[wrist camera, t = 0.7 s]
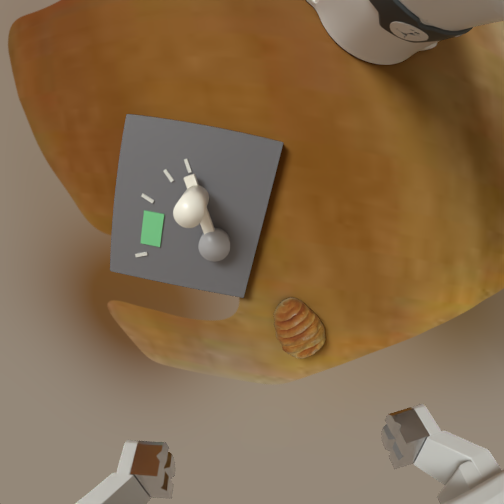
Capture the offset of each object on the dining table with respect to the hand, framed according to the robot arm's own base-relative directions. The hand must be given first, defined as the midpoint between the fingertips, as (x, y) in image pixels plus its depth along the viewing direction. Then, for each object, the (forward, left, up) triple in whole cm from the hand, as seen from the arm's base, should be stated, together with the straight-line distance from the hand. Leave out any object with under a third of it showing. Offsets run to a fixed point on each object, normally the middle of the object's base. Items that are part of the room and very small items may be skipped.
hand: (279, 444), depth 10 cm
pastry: (+16, +11, -31) cm, 36 cm away
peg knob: (+2, -5, -29) cm, 29 cm away
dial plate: (+2, -7, -31) cm, 31 cm away
